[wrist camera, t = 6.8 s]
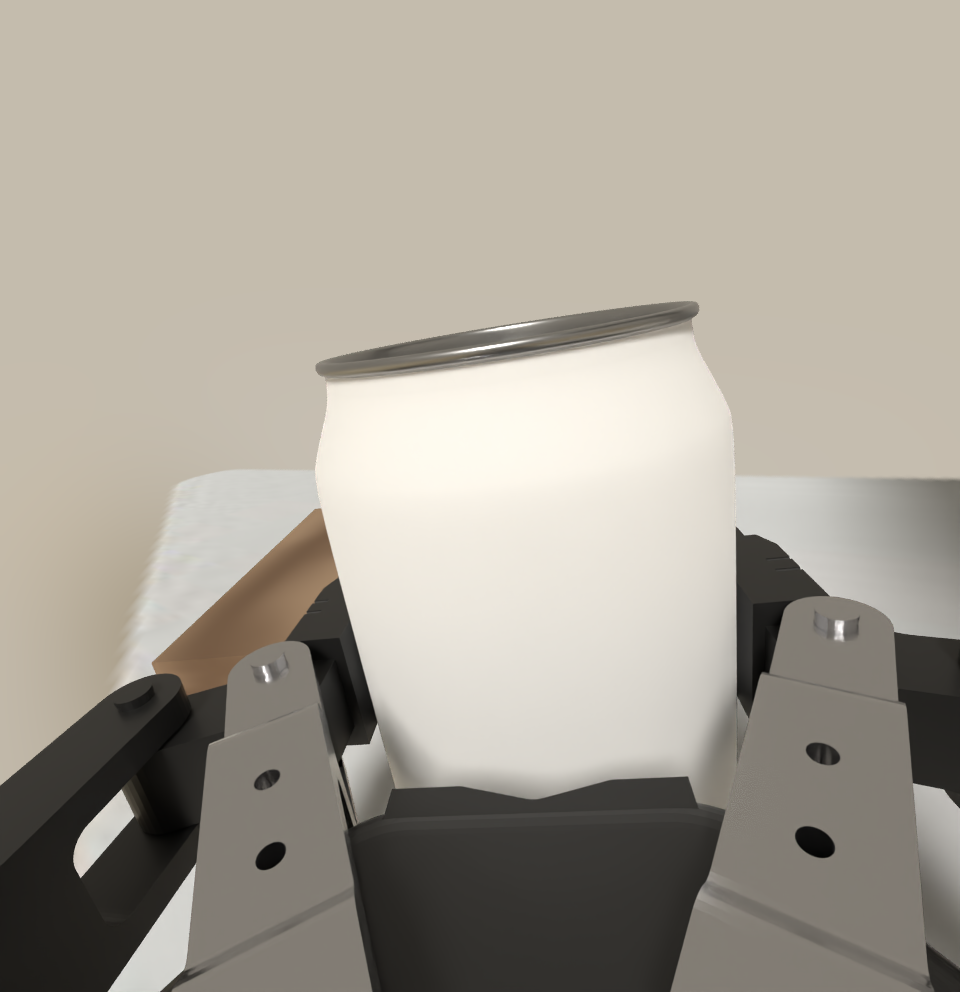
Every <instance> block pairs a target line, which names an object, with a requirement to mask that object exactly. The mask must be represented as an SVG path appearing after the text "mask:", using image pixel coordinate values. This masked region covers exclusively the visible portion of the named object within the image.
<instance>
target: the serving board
mask: <svg viewBox="0 0 960 992" xmlns="http://www.w3.org/2000/svg"><path fill="white" fill-rule="evenodd" d="M338 577H339V576H338V572H337V568H336V564H335V561H334V557H333V553H332V549H331V545H330V541H329V538H328V534H327V530H326V526H325V522H324V517H323V513H322V509H315V510H314V511H313V512H312V513H310V514H309V515H308V516H307V517H306V518H305V519H304V520H303V521H302V522H301V523H300V524H299V525H298V526H297V527H296V528H295V529H293V530H292V531H291V532H290V533H289V534H288V535H287V536H286V537H285V538H284V539H283V540H282V541H281V542H280V543H279V544H278V545H276V546H275V547H274V548H273V549H272V550H271V551H270V552H269V553H268V554H267V555H266V556H265V557H264V558H263V559H262V560H261V561H259V562H258V563H257V564H256V565H255V566H254V567H253V568H252V569H251V570H250V571H249V572H248V573H247V574H246V575H245V576H244V577H242V578H241V579H240V580H239V581H238V582H237V583H236V584H235V585H234V586H233V587H232V588H231V589H230V590H229V591H228V592H227V593H225V594H224V595H223V596H222V597H221V598H220V599H219V600H218V601H217V602H216V603H215V604H214V605H213V606H212V607H211V608H210V609H208V610H207V611H206V612H205V613H204V614H203V615H202V616H201V617H200V618H199V619H198V620H197V621H196V622H195V623H194V624H193V625H191V626H190V627H189V628H188V629H187V630H186V631H185V632H184V633H183V634H182V635H181V636H180V637H179V638H178V639H177V640H176V641H174V642H173V643H172V644H171V645H170V646H169V647H168V648H167V649H166V650H165V651H164V652H163V653H162V654H161V655H160V656H158V657H157V658H156V659H155V660H154V661H153V662H152V665H153V668H154V670H155V672H156V674H164V673H168V674H174V675H177V676H178V677H179V678H180V679H181V682H182V684H183V686H184V689H185V691H186V694H187V695H190V694H194V693H198V692H201V691H205V690H208V689H212V688H216V687H219V686H223V685H226V684H227V681H228V675H229V673H230V671H231V670H232V668H233V667H234V666H235V665H236V664H237V663H238V662H239V661H240V660H241V659H243V658H244V657H246V656H247V655H248V654H250V653H252V652H254V651H256V650H258V649H260V648H262V647H265V646H267V645H271V644H274V643H278V642H284V641H285V640H286V639H287V637H288V636H289V635H290V633H291V632H292V631H293V629H294V628H295V626H296V625H297V624H298V622H299V621H300V620H301V618H302V617H303V616H304V614H307V612H306V611H307V610H308V609H309V607H310V606H311V605H312V603H314V601H315V599H316V598H317V596H318V595H319V594H320V592H321V591H322V590H323V588H324V587H326V586H327V585H329V584H330V583H331V582H333V581H334V580H336V579H337V578H338Z"/></svg>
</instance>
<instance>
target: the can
mask: <svg viewBox="0 0 960 992" xmlns="http://www.w3.org/2000/svg"><path fill="white" fill-rule="evenodd" d="M698 312H699V305H698V304H697V303H696V302H692V301H691V302H690V301H684V302H670V303H659V304H651V305H641V306H633V307H625V308H617V309H610V310H603V311H595V312H589V313H582V314H574V315H568V316H561V317H554V318H548V319H542V320H535V321H528V322H522V323H516V324H510V325H503V326H497V327H491V328H485V329H479V330H473V331H467V332H461V333H455V334H450V335H444V336H438V337H433V338H427V339H422V340H416V341H411V342H406V343H400V344H395V345H390V346H385V347H379V348H375V349H370V350H365V351H360V352H355V353H351V354H346V355H343V356H338V357H335V358H330V359H327V360H324V361H321V362H319V363H317V364H316V371H317V373H318V374H319V375H320V376H324V377H325V379H326V387H327V398H328V399H327V410H326V415H325V420H324V425H323V429H322V434H321V438H320V443H319V448H318V453H317V459H316V468H315V477H316V484H317V491H318V496H319V500H320V504H321V509H322V513H323V517H324V522H325V526H326V530H327V534H328V538H329V541H330V545H331V549H332V553H333V557H334V561H335V564H336V568H337V572H338V576H339V580H340V584H341V587H342V591H343V595H344V599H345V602H346V606H347V610H348V614H349V617H350V621H351V625H352V629H353V632H354V636H355V640H356V644H357V648H358V651H359V655H360V659H361V663H362V666H363V670H364V674H365V677H366V681H367V685H368V688H369V692H370V696H371V700H372V703H373V707H374V711H375V714H376V718H377V722H378V726H379V729H380V733H381V737H382V740H383V744H384V748H385V752H386V755H387V759H388V763H389V766H390V770H391V774H392V777H393V781H394V785H395V788H396V789H404V788H427V787H451V786H463V787H468V788H473V789H478V790H483V791H489V792H494V793H499V794H504V795H509V796H514V797H519V798H525V799H541V798H545V797H549V796H553V795H556V794H560V793H564V792H567V791H571V790H575V789H578V788H582V787H586V786H589V785H593V784H597V783H601V782H604V781H608V780H614V779H638V778H661V777H685V776H688V778H689V781H690V784H691V787H692V790H693V793H694V796H695V799H696V802H697V803H701V804H706V805H711V806H714V807H717V808H721V809H724V810H726V807H727V803H728V799H729V795H730V791H731V788H732V784H733V780H734V776H735V772H736V768H737V634H736V514H735V461H734V435H733V426H732V418H731V413H730V410H729V407H728V405H727V403H726V400H725V398H724V396H723V395H722V392H721V390H720V388H719V387H718V385H717V383H716V381H715V379H714V378H713V376H712V374H711V372H710V371H709V369H708V367H707V365H706V364H705V362H704V360H703V358H702V356H701V354H700V352H699V350H698V348H697V345H696V342H695V339H694V333H693V327H692V318H693V317H695V316H696V315H697V314H698Z"/></svg>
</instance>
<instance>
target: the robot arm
mask: <svg viewBox="0 0 960 992" xmlns="http://www.w3.org/2000/svg"><path fill="white" fill-rule="evenodd" d="M306 612H307V614H304V616H303V617H302V618H301V620H300V621H299V622H298V624H297V625H296V626H295V628H294V629H293V631H292V632H291V633H290V635H289V636H288V637H287V639H286V640H285V641H284V642H278V643H274V644H271V645H267V646H265V647H262V648H260V649H258V650H256V651H254V652H252V653H250V654H248V655H247V656H246V657H244V658H243V659H241V660H240V661H239V662H238V663H237V664H236V665H235V666H234V667H233V668H232V670H231V671H230V673H229V675H228V681H227V684H226V685H223V686H219V687H216V688H212V689H208V690H205V691H201V692H198V693H194V694H190V695H187V694H186V691H185V689H184V686H183V684H182V682H181V679H180V678H179V677H178V676H177V675H174V674H168V673H164V674H156V675H151V676H148V677H144V678H141V679H138V680H136V681H134V682H131V683H129V684H127V685H125V686H123V687H121V688H120V689H118V690H116V691H115V692H113V693H112V694H110V695H109V696H107V697H106V698H105V699H103V700H102V701H101V702H100V703H98V704H97V705H96V706H95V707H94V708H93V709H91V710H90V711H89V712H88V713H87V714H85V715H84V716H83V717H82V718H81V719H79V720H78V721H77V722H76V723H75V724H73V725H72V726H71V727H70V728H69V729H67V730H66V731H65V732H64V733H63V734H62V735H60V736H59V737H58V738H57V739H56V740H54V741H53V742H52V743H51V744H50V745H48V746H47V747H46V748H45V749H44V750H43V751H41V752H40V753H39V754H38V755H36V756H35V757H34V758H33V759H32V760H31V761H29V762H28V763H27V764H26V765H24V766H23V767H22V768H21V769H20V770H19V771H17V772H16V773H15V774H14V775H12V776H11V777H10V778H9V779H8V780H7V781H5V782H4V783H3V784H2V785H1V786H0V992H108V990H109V989H110V987H111V986H112V985H113V983H114V982H115V980H116V979H117V977H118V976H119V974H120V973H121V971H122V970H123V969H124V967H125V966H126V964H127V963H128V961H129V960H130V958H131V957H132V956H133V954H134V953H135V951H136V950H137V948H138V947H139V945H140V944H141V942H142V941H143V940H144V938H145V937H146V935H147V934H148V932H149V931H150V929H151V928H152V926H153V925H154V924H155V922H156V921H157V919H158V918H159V916H160V915H161V913H162V912H163V910H164V909H165V908H166V906H167V905H168V903H169V902H170V900H171V899H172V897H173V896H174V894H175V893H176V892H177V890H178V889H179V887H180V886H181V884H182V883H183V881H184V880H185V878H186V877H187V876H188V874H189V873H190V871H191V870H192V868H193V867H194V865H195V864H196V872H195V882H194V892H193V902H192V913H191V923H190V933H189V943H188V954H187V961H186V966H185V969H184V970H183V971H182V972H181V973H180V974H179V975H178V976H177V977H176V978H175V979H174V980H172V981H171V982H170V983H169V984H168V985H167V986H166V987H165V988H164V989H163V990H162V991H160V992H960V968H959V967H958V966H956V965H955V964H954V963H952V962H951V961H950V960H948V959H947V958H946V957H944V956H943V955H942V954H940V953H939V952H938V951H936V950H935V949H934V948H932V947H931V946H930V945H928V944H927V943H926V941H925V929H924V917H923V904H922V892H921V879H920V867H919V855H918V842H917V830H916V818H915V805H914V793H913V783H914V784H920V785H925V786H930V787H935V788H940V789H944V790H945V792H946V793H947V795H948V796H949V797H950V798H951V799H952V801H953V802H954V803H955V804H956V805H957V806H958V807H959V808H960V640H957V639H946V638H936V637H926V636H916V635H908V634H901V633H896V632H894V628H893V624H892V623H891V621H890V620H889V619H888V618H887V617H886V616H885V615H884V614H883V613H881V612H880V611H878V610H876V609H875V608H873V607H871V606H868V605H866V604H863V603H860V602H857V601H854V600H850V599H845V598H839V597H830V596H829V595H828V594H827V593H826V592H825V591H824V590H823V589H822V588H821V587H820V586H819V585H818V584H817V583H816V582H815V581H814V580H813V579H812V578H811V577H810V576H809V575H808V574H807V573H806V572H805V571H804V570H803V569H801V570H800V566H799V565H798V564H797V563H796V562H795V561H794V560H793V559H790V558H789V555H787V554H786V553H785V552H784V551H783V550H782V549H781V548H780V547H779V546H778V545H777V544H776V543H773V542H771V541H769V540H767V539H764V538H762V537H760V536H758V535H746V536H744V535H743V534H742V532H741V531H740V530H739V529H738V528H737V527H736V634H737V697H738V699H739V700H740V702H741V704H742V706H743V708H744V710H745V712H746V714H747V716H748V718H749V721H748V725H747V729H746V733H745V737H744V741H743V745H742V748H741V752H740V756H739V760H738V764H737V768H736V772H735V776H734V780H733V784H732V788H731V791H730V795H729V799H728V803H727V807H726V810H724V809H721V808H717V807H714V806H711V805H706V804H701V803H697V802H696V799H695V796H694V793H693V790H692V787H691V784H690V781H689V778H688V776H685V777H661V778H638V779H614V780H608V781H604V782H601V783H597V784H593V785H589V786H586V787H582V788H578V789H575V790H571V791H567V792H564V793H560V794H556V795H553V796H549V797H545V798H541V799H525V798H519V797H514V796H509V795H504V794H499V793H494V792H489V791H483V790H478V789H473V788H468V787H463V786H451V787H427V788H404V789H392V791H391V794H390V798H389V801H388V805H387V808H386V811H385V814H384V815H381V816H377V817H375V818H372V819H369V820H367V821H364V822H362V823H359V822H358V818H357V813H356V809H355V805H354V801H353V797H352V793H351V788H350V784H349V780H348V776H347V772H346V768H345V765H344V761H343V758H342V755H343V753H344V750H345V748H346V745H363V744H370V741H371V739H372V736H373V733H374V730H375V728H376V725H377V718H376V714H375V711H374V707H373V703H372V700H371V696H370V692H369V688H368V685H367V681H366V677H365V674H364V670H363V666H362V663H361V659H360V655H359V651H358V648H357V644H356V640H355V636H354V632H353V629H352V625H351V621H350V617H349V614H348V610H347V606H346V602H345V599H344V595H343V591H342V587H341V584H340V580H339V577H338V578H337V579H336V580H334V581H333V582H331V583H330V584H329V585H327V586H326V587H324V588H323V590H322V591H321V592H320V594H319V595H318V596H317V598H316V599H315V601H314V603H312V605H311V606H310V607H309V609H308V610H307V611H306ZM121 789H122V791H123V793H124V795H125V797H126V799H127V801H128V803H129V805H130V807H131V809H132V811H133V813H134V815H135V816H134V817H133V819H132V820H131V821H130V822H129V823H128V824H127V826H126V827H125V828H124V829H123V830H122V831H121V832H120V834H119V835H118V836H117V837H116V838H115V839H114V841H113V842H112V843H111V844H110V845H109V846H108V847H107V849H106V850H105V851H104V852H103V853H102V854H101V856H100V857H99V858H98V859H97V860H96V861H95V862H94V864H93V865H92V866H91V867H90V868H89V869H88V871H87V872H86V873H85V874H84V875H83V876H82V877H81V878H80V877H79V875H78V873H77V871H76V869H75V867H74V863H73V855H74V849H75V846H76V843H77V841H78V838H79V837H80V835H81V833H82V832H83V830H84V829H85V827H86V826H87V825H88V824H89V823H90V822H91V821H92V820H93V819H94V817H95V816H96V815H97V814H98V813H99V812H100V811H101V810H102V809H103V808H104V807H105V806H106V805H107V804H108V803H109V802H110V800H111V799H112V798H113V797H114V796H115V795H116V794H117V793H118V792H119V791H120V790H121Z"/></svg>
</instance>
